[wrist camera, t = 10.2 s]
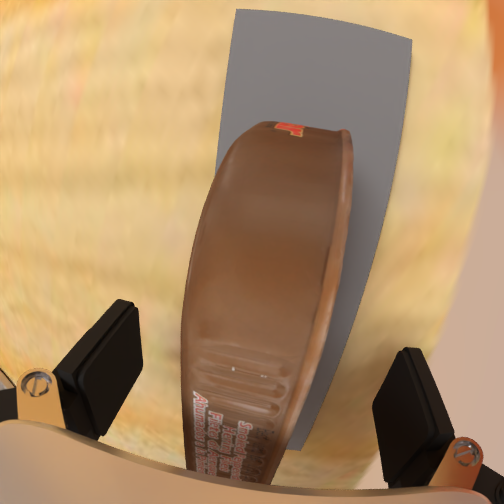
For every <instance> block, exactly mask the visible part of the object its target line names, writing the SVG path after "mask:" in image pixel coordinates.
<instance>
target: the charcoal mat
mask: <svg viewBox="0 0 504 504" xmlns="http://www.w3.org/2000/svg"><path fill="white" fill-rule="evenodd" d="M411 51H412V39H409V38H405V37H402V36H399V35H396V34H392V33H389V32H385V31H381V30H378V29H374V28H370V27H366V26H362V25H357V24H353V23H348V22H344V21H339V20H333V19H328V18H322V17H316V16H310V15H303V14H295V13H287V12H277V11H265V10H250V9H236V14H235V21H234V27H233V34H232V40H231V47H230V54H229V61H228V68H227V75H226V83H225V91H224V99H223V107H222V115H221V123H220V132H219V141H218V150H217V159H216V169H215V175H216V173H217V170H218V168H219V166H220V164H221V162H222V160H223V158H224V157H225V155H226V153H227V151H228V149H229V148H230V146H231V145H232V144H233V142H234V141H235V140H236V139H237V138H238V137H239V136H240V135H242V134H243V133H244V132H246V131H247V130H249V129H250V128H251V127H253V126H254V125H256V124H258V123H260V122H263V121H276V122H284V123H291V124H297V125H303V126H308V127H314V128H320V129H326V130H331V131H339V130H341V129H346V130H348V131H350V134H351V138H352V144H353V154H354V161H353V189H352V206H351V211H350V219H349V225H348V235H347V240H346V244H345V253H344V257H343V268H342V272H341V277H340V284H339V288H338V291H337V295H336V300H335V304H334V308H333V313H332V317H331V322H330V326H329V330H328V334H327V337H326V341H325V345H324V349H323V352H322V356H321V359H320V362H319V365H318V368H317V371H316V374H315V376H314V379H313V382H312V385H311V387H310V390H309V393H308V396H307V398H306V400H305V403H304V406H303V409H302V411H301V413H300V415H299V418H298V421H297V423H296V426H295V428H294V431H293V434H292V436H291V438H290V440H289V442H288V445H287V447H286V449H289V450H297V451H301V449H302V447H303V445H304V443H305V441H306V439H307V436H308V434H309V432H310V430H311V428H312V426H313V423H314V421H315V419H316V417H317V415H318V412H319V410H320V408H321V405H322V403H323V401H324V398H325V396H326V394H327V391H328V389H329V386H330V384H331V381H332V379H333V376H334V374H335V371H336V369H337V366H338V364H339V361H340V358H341V356H342V353H343V350H344V348H345V345H346V342H347V340H348V337H349V334H350V331H351V328H352V325H353V322H354V320H355V317H356V314H357V311H358V308H359V305H360V301H361V298H362V295H363V292H364V289H365V286H366V282H367V279H368V276H369V272H370V269H371V265H372V262H373V258H374V255H375V251H376V248H377V244H378V240H379V236H380V232H381V229H382V225H383V221H384V217H385V212H386V208H387V204H388V199H389V195H390V191H391V186H392V181H393V176H394V171H395V166H396V161H397V156H398V150H399V145H400V139H401V133H402V127H403V120H404V114H405V107H406V99H407V91H408V83H409V73H410V63H411Z"/></svg>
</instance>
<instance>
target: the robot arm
mask: <svg viewBox="0 0 504 504" xmlns="http://www.w3.org/2000/svg"><path fill="white" fill-rule="evenodd" d="M142 368H143V356H142V347H141V336H140V324H139V311H138V308H137V307H135V306H134V303H133V302H129V301H125V300H121V299H118V300H116V301H115V302H114V303H113V304H112V306H111V307H110V308H109V309H108V310H107V311H106V312H105V313H104V314H103V315H102V317H101V318H100V319H99V320H98V321H97V322H96V323H95V324H94V325H93V327H92V328H90V329H89V330H88V331H87V332H86V333H85V334H84V335H83V337H82V338H81V339H80V340H79V341H78V342H77V343H76V345H75V346H74V347H73V348H72V349H71V350H70V351H69V353H68V354H67V355H66V356H65V357H64V358H63V360H62V361H61V362H60V363H59V364H58V365H57V367H56V368H55V369H54V370H53V371H52V372H50V371H49V370H47V369H43V368H34V369H30V370H28V371H26V372H24V373H23V374H22V375H21V376H20V377H19V379H18V381H17V387H14V386H13V385H12V384H11V382H10V381H9V380H8V379H7V378H6V376H5V375H4V374H3V373H2V372H1V370H0V504H504V477H503V476H501V475H500V474H498V473H497V472H495V471H493V470H492V469H490V468H489V467H487V466H485V465H484V464H482V462H483V451H482V449H481V447H480V446H479V444H478V443H477V442H475V441H474V440H473V439H470V438H468V437H459V438H455V435H454V429H453V427H452V424H451V421H450V418H449V416H448V413H447V410H446V408H445V405H444V403H443V400H442V398H441V395H440V393H439V390H438V388H437V386H436V383H435V381H434V378H433V376H432V374H431V371H430V369H429V367H428V365H427V362H426V360H425V358H424V356H423V353H422V351H421V350H420V349H419V348H411V347H405V348H404V349H403V350H402V351H399V352H398V353H397V355H396V358H395V360H394V362H393V364H392V366H391V368H390V370H389V372H388V374H387V376H386V378H385V380H384V382H383V384H382V386H381V388H380V390H379V392H378V393H377V395H376V397H375V399H374V401H373V405H372V411H373V416H374V422H375V427H376V433H377V439H378V445H379V451H380V457H381V464H382V470H383V477H384V481H385V482H388V487H389V489H363V490H335V489H311V488H297V487H285V486H276V485H267V484H259V483H252V482H246V481H240V480H234V479H228V478H223V477H218V476H213V475H208V474H204V473H199V472H195V471H190V470H186V469H182V468H178V467H175V466H171V465H167V464H164V463H160V462H157V461H154V460H150V459H147V458H144V457H141V456H138V455H135V454H132V453H129V452H126V451H123V450H120V449H117V448H114V447H111V446H109V445H106V444H103V443H101V442H98V439H99V437H100V435H101V436H104V435H105V434H106V433H107V431H108V429H109V427H110V426H111V424H112V422H113V420H114V419H115V417H116V415H117V413H118V411H119V410H120V408H121V406H122V404H123V403H124V401H125V399H126V397H127V395H128V394H129V392H130V390H131V388H132V387H133V385H134V383H135V382H136V380H137V378H138V376H139V375H140V373H141V371H142Z"/></svg>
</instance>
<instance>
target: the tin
mask: <svg viewBox="0 0 504 504" xmlns="http://www.w3.org/2000/svg"><path fill="white" fill-rule="evenodd" d="M353 161H354V154H353V144H352V138H351V134H350V131H348V130H346V129H341V130H339V131H331V130H326V129H320V128H314V127H308V126H303V125H297V124H291V123H284V122H276V121H263V122H260V123H258V124H256V125H254V126H253V127H251V128H250V129H249V130H247V131H246V132H244V133H243V134H242V135H240V136H239V137H238V138H237V139H236V140H235V141H234V142H233V144H232V145H231V146H230V148H229V149H228V151H227V153H226V155H225V157H224V158H223V160H222V162H221V164H220V166H219V168H218V170H217V173H216V175H215V178H214V180H213V182H212V185H211V188H210V190H209V193H208V196H207V199H206V201H205V204H204V207H203V210H202V213H201V217H200V220H199V224H198V227H197V231H196V235H195V239H194V243H193V247H192V252H191V257H190V263H189V268H188V274H187V280H186V287H185V294H184V302H183V310H182V320H181V397H182V417H183V433H184V448H185V459H186V468H187V470H190V471H195V472H199V473H204V474H208V475H213V476H218V477H223V478H228V479H234V480H240V481H246V482H252V483H259V484H267V485H270V484H271V482H272V479H273V477H274V475H275V473H276V470H277V468H278V466H279V464H280V461H281V459H282V457H283V455H284V452H285V450H286V447H287V445H288V442H289V440H290V438H291V436H292V434H293V431H294V428H295V426H296V423H297V421H298V418H299V415H300V413H301V411H302V409H303V406H304V403H305V400H306V398H307V396H308V393H309V390H310V387H311V385H312V382H313V379H314V376H315V374H316V371H317V368H318V365H319V362H320V359H321V356H322V352H323V349H324V345H325V341H326V337H327V334H328V330H329V326H330V322H331V317H332V313H333V308H334V304H335V300H336V295H337V291H338V288H339V284H340V277H341V272H342V268H343V257H344V253H345V244H346V240H347V235H348V225H349V219H350V211H351V206H352V189H353Z"/></svg>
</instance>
